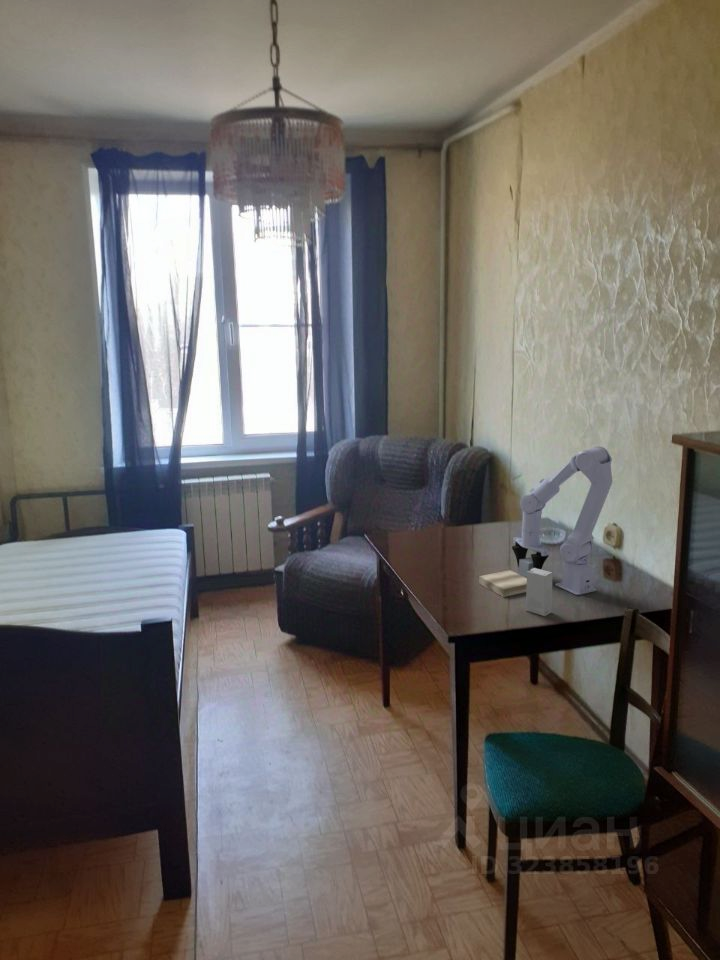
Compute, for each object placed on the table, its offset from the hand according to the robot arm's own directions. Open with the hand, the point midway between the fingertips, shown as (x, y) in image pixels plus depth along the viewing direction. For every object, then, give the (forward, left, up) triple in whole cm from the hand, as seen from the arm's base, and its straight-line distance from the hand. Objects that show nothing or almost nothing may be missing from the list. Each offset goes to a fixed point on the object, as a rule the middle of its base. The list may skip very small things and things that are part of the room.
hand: (528, 570), depth 225 cm
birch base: (-5, +13, -1) cm, 14 cm away
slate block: (0, 0, -2) cm, 2 cm away
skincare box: (-24, +17, -2) cm, 29 cm away
